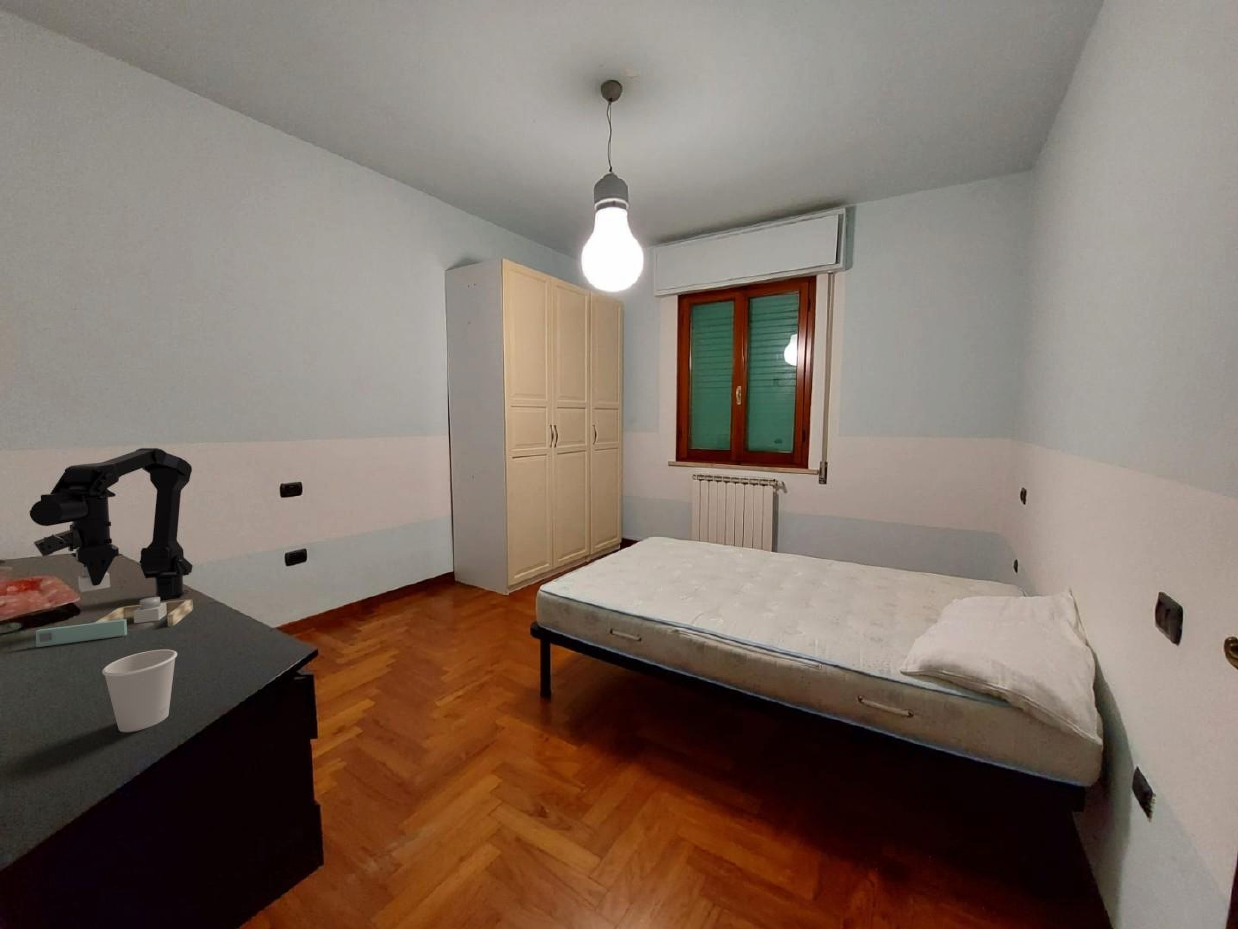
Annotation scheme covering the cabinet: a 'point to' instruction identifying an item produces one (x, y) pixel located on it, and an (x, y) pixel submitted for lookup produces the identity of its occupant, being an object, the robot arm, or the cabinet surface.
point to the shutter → (80, 632)
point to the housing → (173, 607)
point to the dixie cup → (141, 688)
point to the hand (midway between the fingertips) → (94, 583)
